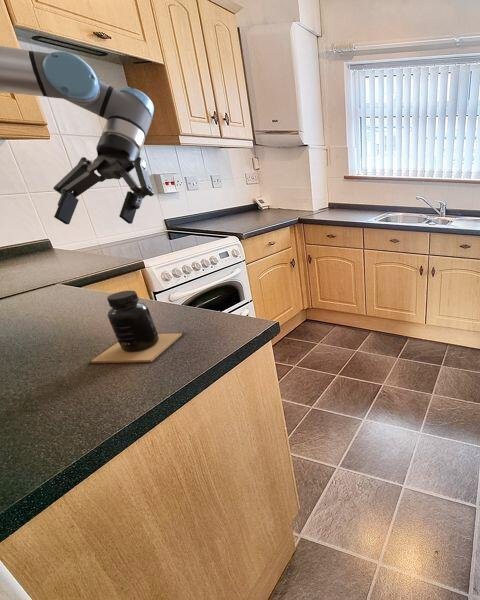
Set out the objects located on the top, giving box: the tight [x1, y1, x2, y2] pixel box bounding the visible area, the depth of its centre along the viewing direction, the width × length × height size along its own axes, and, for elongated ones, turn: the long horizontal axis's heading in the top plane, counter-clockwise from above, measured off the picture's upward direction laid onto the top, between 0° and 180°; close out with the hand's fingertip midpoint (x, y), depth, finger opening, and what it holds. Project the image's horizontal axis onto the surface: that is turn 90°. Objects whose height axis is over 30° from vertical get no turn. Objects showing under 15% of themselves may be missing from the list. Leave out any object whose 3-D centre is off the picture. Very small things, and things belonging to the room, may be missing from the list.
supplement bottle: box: [106, 289, 159, 352], centre depth 71 cm, size 7×7×12 cm
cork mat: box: [90, 332, 183, 364], centre depth 73 cm, size 12×11×1 cm
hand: (93, 220), depth 72 cm, fingers open, 13 cm apart
